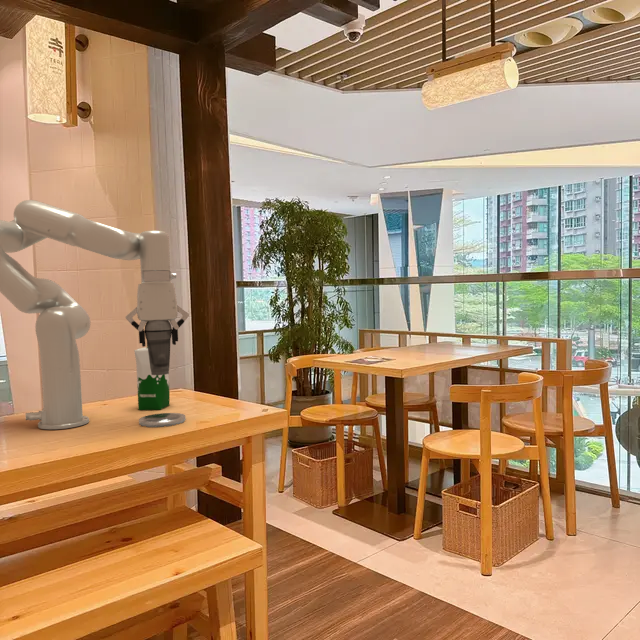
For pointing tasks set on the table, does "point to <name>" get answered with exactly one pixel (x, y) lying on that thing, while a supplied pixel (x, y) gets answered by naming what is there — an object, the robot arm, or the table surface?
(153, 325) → the beverage cup
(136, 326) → the robot arm
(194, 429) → the table surface
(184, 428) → the table surface
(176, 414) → the flange plate
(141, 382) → the milk carton
